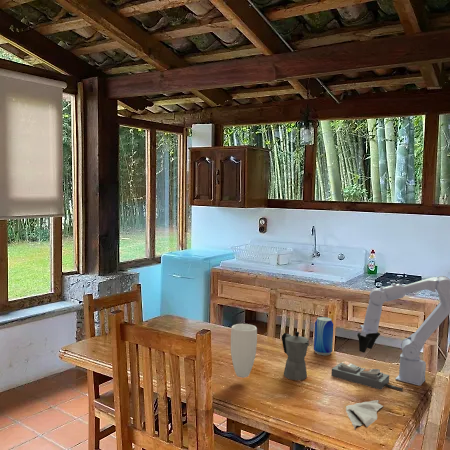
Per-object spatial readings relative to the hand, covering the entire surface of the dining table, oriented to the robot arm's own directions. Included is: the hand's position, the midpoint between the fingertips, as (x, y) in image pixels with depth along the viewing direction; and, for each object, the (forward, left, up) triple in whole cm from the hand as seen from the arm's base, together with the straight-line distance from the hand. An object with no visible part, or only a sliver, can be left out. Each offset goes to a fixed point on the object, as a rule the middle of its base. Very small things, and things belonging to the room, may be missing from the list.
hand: (365, 349), depth 190 cm
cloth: (-13, +34, -11) cm, 38 cm away
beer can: (+24, -12, -10) cm, 29 cm away
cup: (+32, +41, -10) cm, 53 cm away
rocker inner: (-5, +7, -6) cm, 11 cm away
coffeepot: (+21, +21, -10) cm, 32 cm away
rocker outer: (+4, +7, -6) cm, 10 cm away
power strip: (-4, +7, -10) cm, 13 cm away
